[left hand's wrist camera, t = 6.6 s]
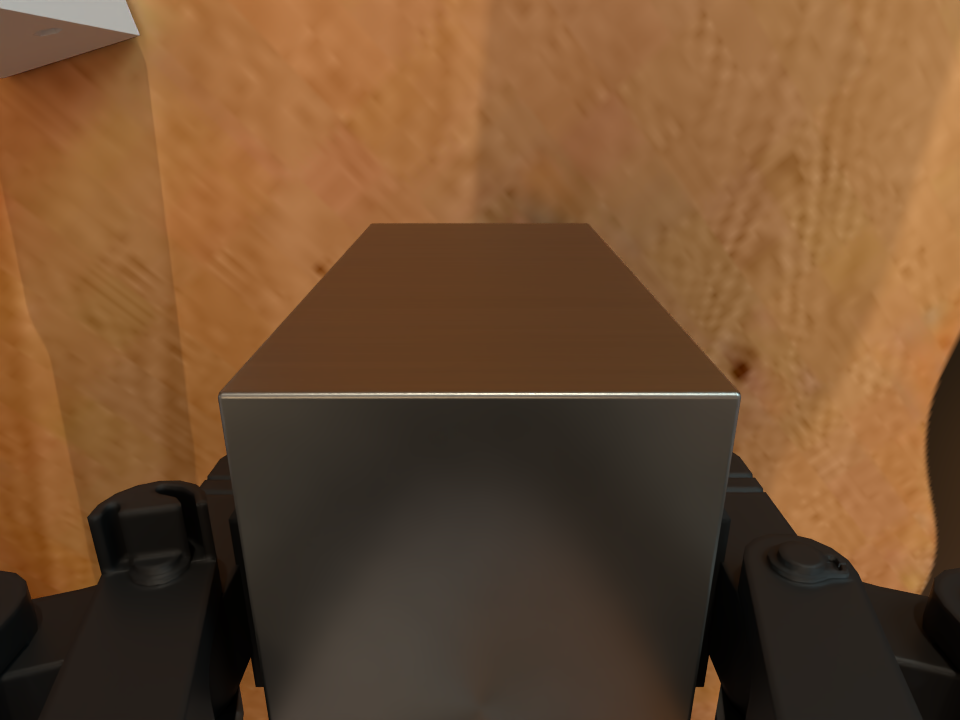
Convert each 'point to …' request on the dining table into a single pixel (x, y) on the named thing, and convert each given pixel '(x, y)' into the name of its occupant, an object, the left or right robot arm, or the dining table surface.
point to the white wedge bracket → (58, 30)
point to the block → (479, 484)
